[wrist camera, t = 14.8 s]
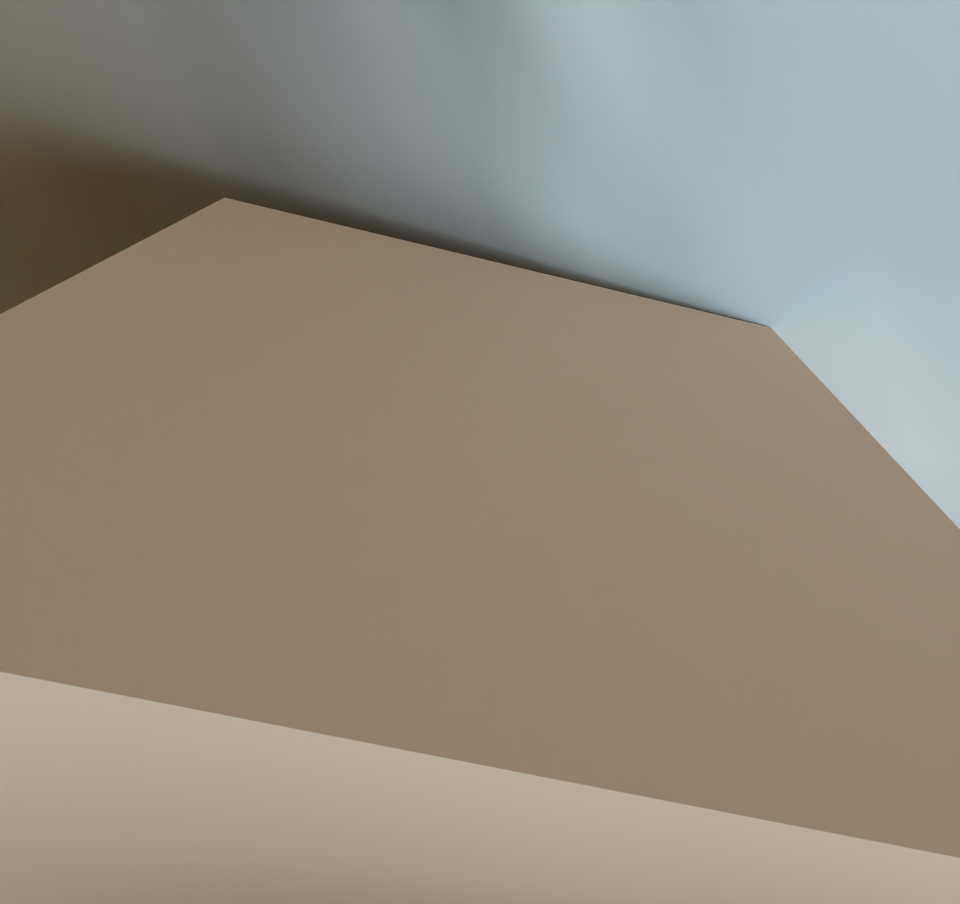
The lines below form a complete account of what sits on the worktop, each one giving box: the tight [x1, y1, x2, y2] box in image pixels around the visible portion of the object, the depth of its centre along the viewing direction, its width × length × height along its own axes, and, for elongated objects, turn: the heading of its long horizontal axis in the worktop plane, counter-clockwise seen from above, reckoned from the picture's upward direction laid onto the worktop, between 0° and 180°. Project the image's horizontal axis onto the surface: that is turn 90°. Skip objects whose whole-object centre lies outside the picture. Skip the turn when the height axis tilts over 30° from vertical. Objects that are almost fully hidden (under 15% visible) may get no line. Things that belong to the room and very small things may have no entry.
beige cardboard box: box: [0, 198, 960, 904], centre depth 9 cm, size 8×8×9 cm
